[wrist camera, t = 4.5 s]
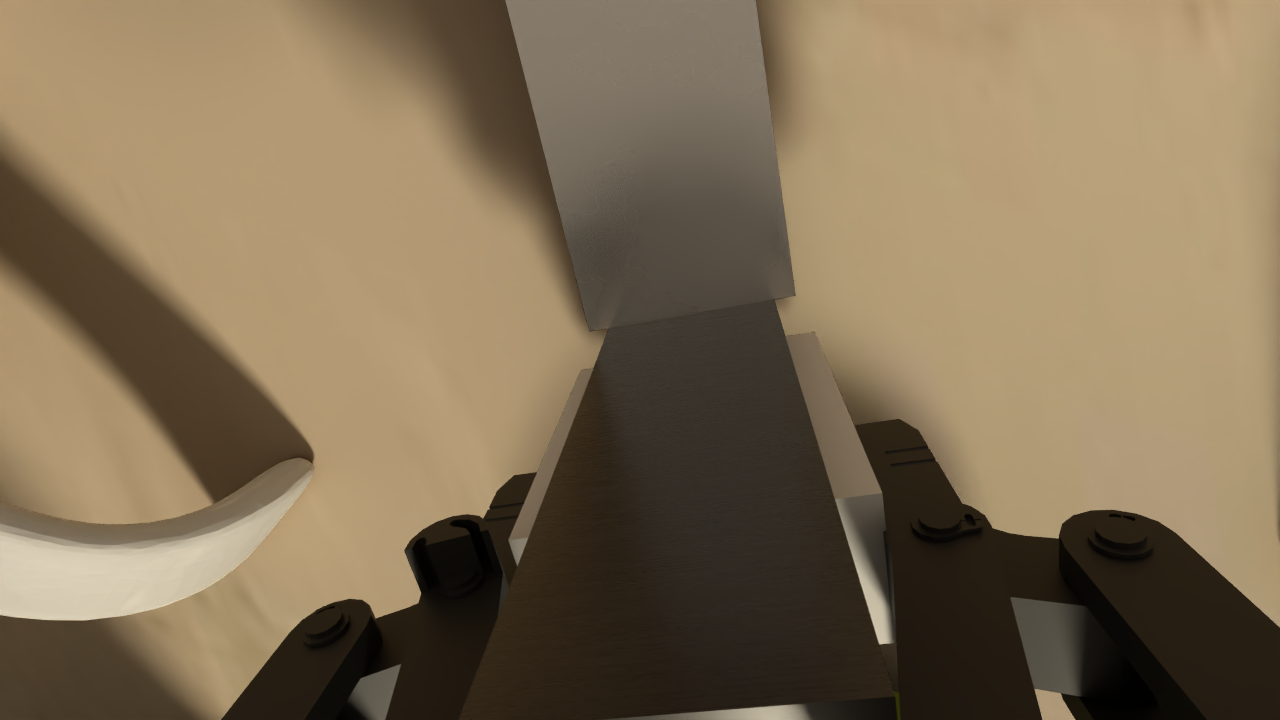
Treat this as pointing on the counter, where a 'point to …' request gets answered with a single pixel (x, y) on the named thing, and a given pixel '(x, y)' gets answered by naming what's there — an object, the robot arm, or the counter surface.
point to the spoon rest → (136, 552)
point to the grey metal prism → (676, 401)
